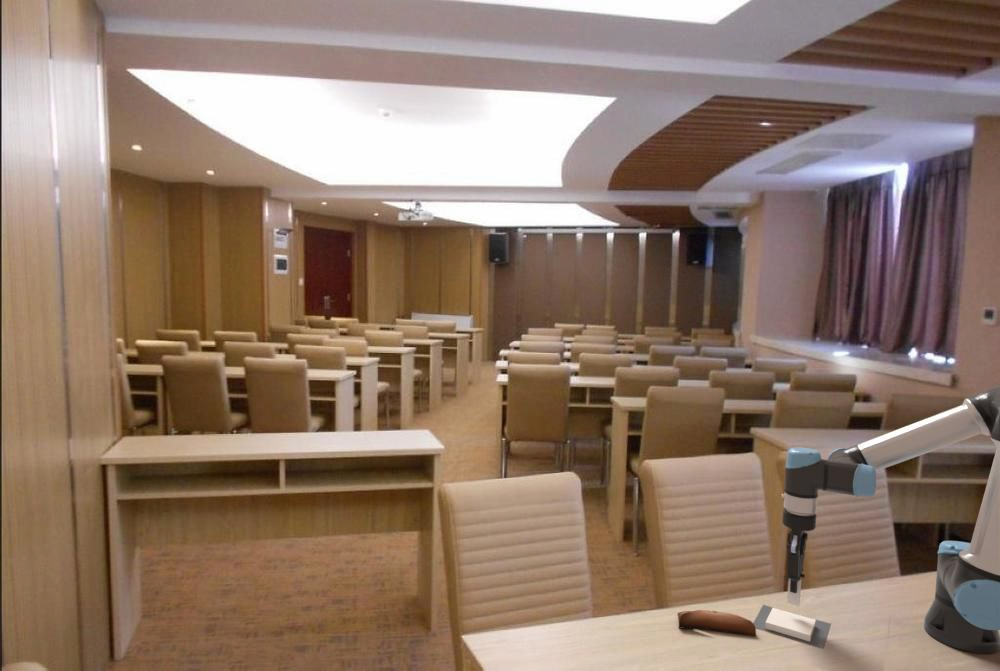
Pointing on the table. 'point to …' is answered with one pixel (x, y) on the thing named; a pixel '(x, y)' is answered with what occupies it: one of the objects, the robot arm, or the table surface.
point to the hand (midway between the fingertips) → (793, 603)
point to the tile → (790, 624)
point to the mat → (816, 640)
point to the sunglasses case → (716, 622)
